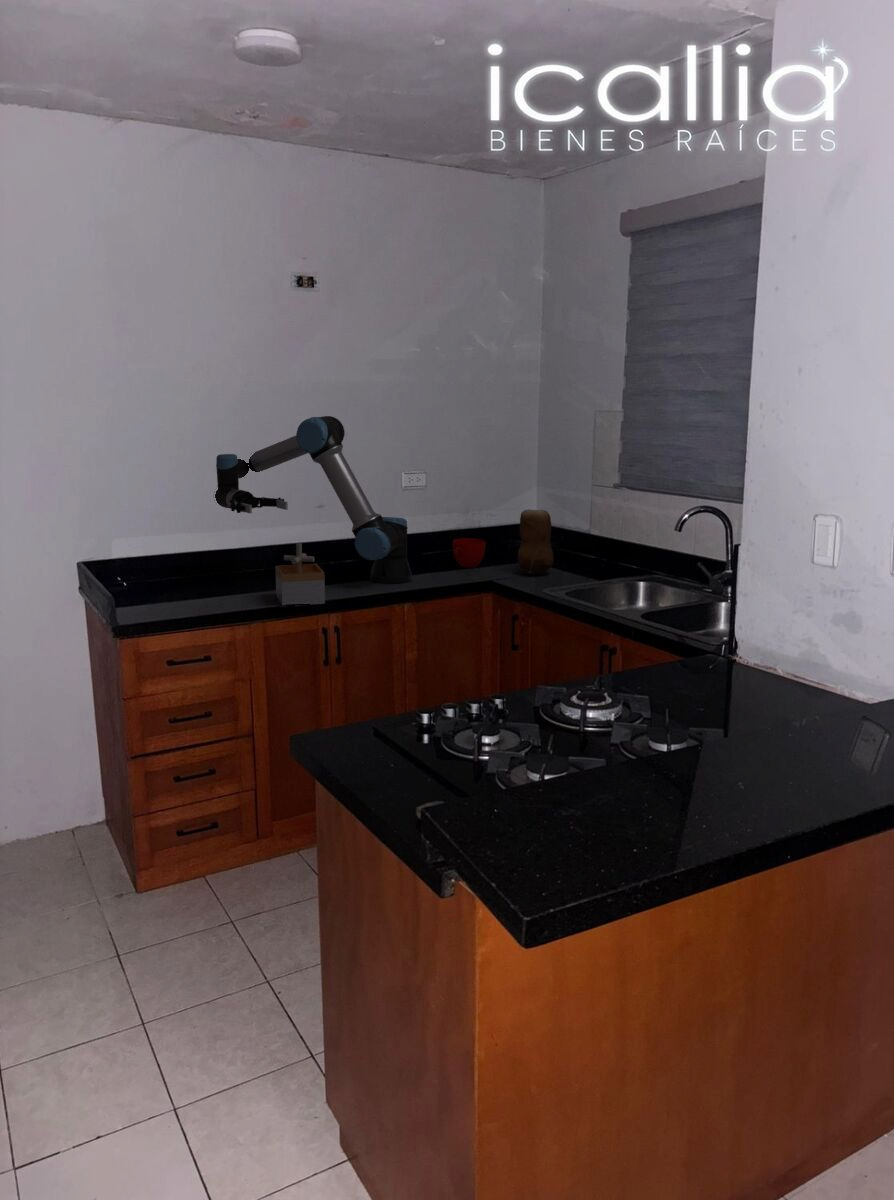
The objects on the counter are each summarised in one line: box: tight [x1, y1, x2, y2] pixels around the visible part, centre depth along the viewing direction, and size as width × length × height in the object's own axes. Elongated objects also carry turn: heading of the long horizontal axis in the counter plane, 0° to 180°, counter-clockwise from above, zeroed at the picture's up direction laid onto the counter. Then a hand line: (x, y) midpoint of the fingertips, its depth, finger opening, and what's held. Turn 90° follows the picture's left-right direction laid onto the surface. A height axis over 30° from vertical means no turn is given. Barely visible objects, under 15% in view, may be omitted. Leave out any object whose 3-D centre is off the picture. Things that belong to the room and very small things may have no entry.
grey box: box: [275, 563, 326, 606], centre depth 312 cm, size 14×14×10 cm
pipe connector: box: [283, 542, 316, 573], centre depth 310 cm, size 10×10×10 cm
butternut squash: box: [517, 508, 555, 576], centre depth 354 cm, size 14×13×25 cm
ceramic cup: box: [452, 537, 487, 569], centre depth 367 cm, size 13×17×10 cm
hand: (269, 507), depth 319 cm, fingers open, 13 cm apart
